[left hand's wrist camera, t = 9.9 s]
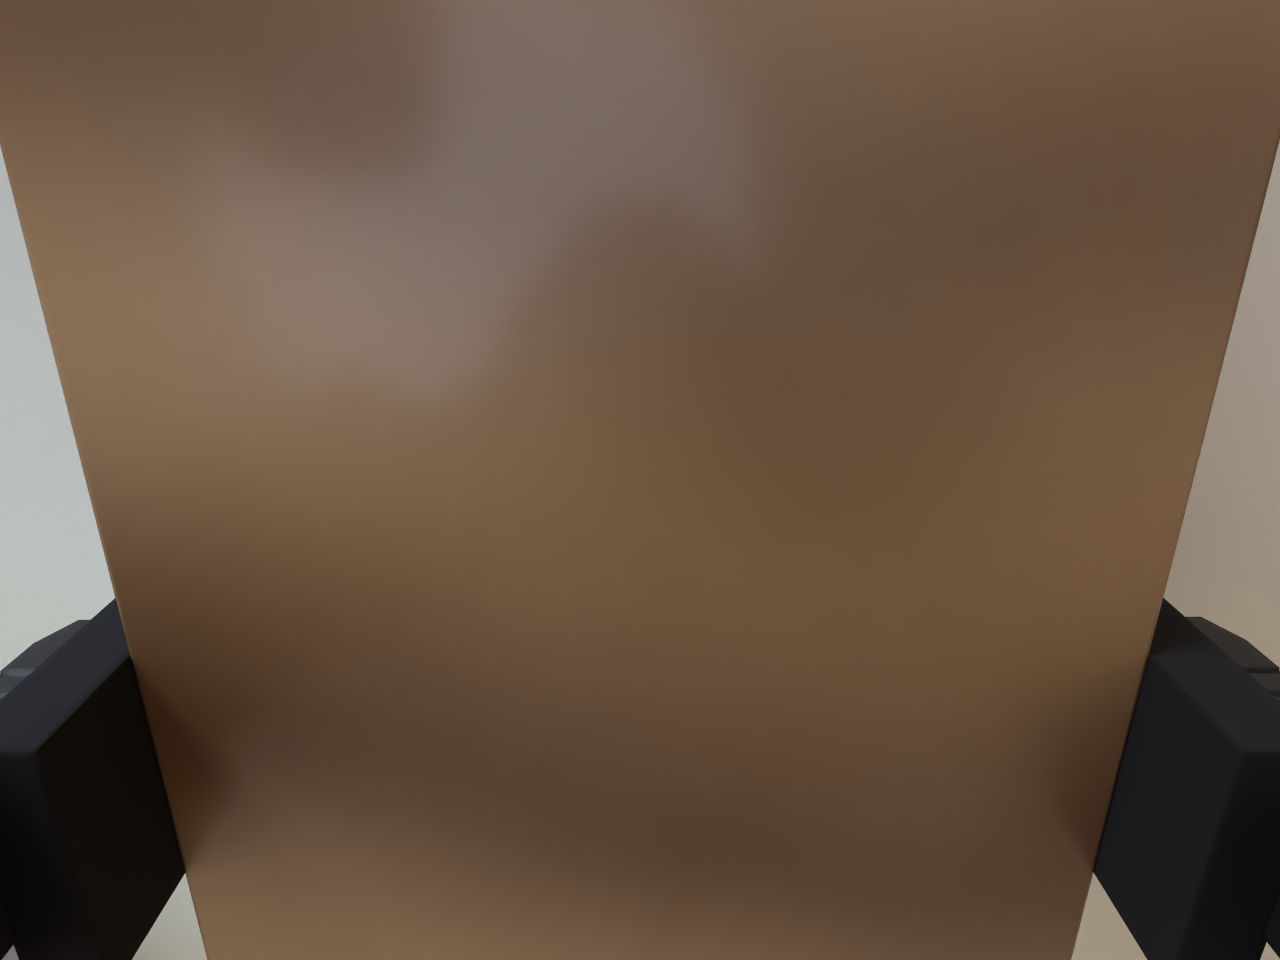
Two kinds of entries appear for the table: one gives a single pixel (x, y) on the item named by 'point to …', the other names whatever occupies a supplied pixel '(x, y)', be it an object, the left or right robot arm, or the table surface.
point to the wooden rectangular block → (639, 446)
